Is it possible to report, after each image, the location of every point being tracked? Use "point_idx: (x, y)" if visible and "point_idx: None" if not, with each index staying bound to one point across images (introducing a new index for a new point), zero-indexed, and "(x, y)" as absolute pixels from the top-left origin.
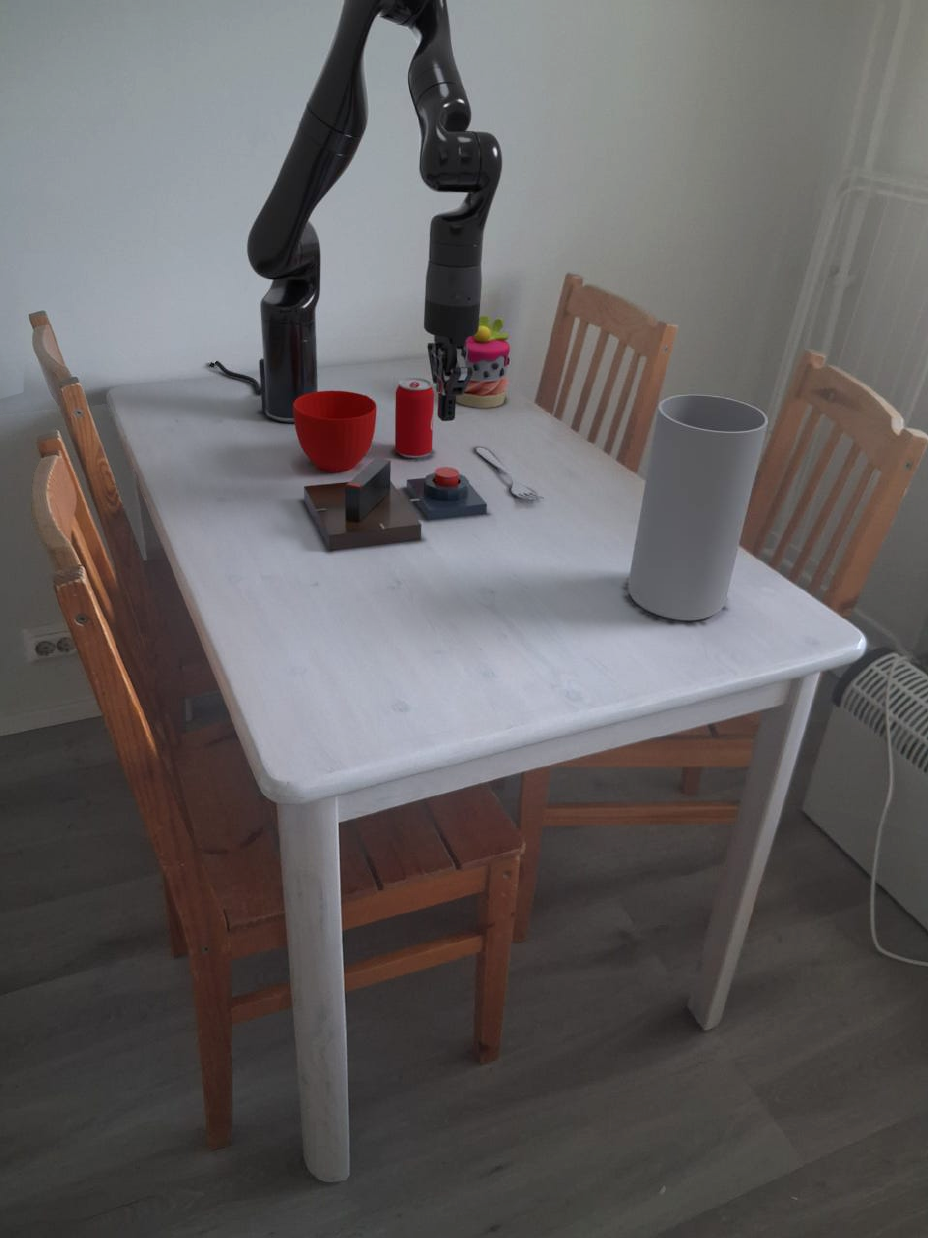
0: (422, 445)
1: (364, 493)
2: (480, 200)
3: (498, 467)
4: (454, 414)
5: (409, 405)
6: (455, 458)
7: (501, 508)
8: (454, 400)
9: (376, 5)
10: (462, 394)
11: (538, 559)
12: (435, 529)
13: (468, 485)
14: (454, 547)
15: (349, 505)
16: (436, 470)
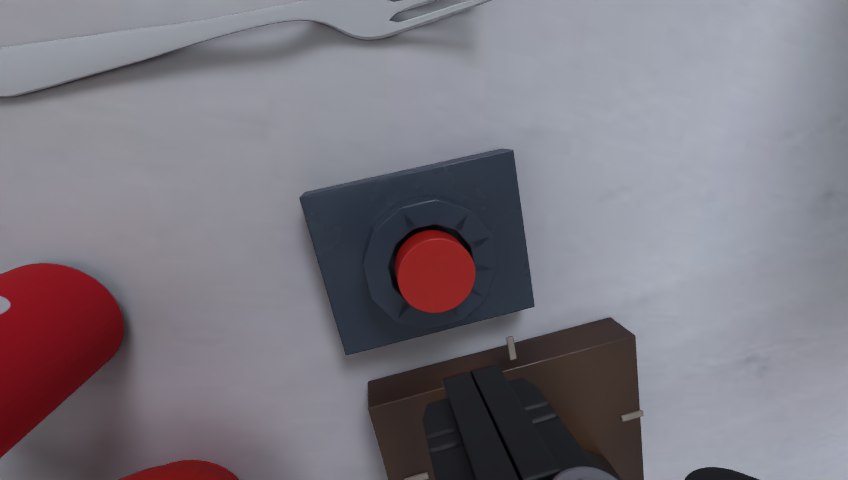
0: (92, 312)
1: None
2: None
3: (187, 46)
4: (504, 378)
5: None
6: (88, 184)
7: (469, 96)
8: (589, 460)
9: None
10: (740, 476)
11: (742, 59)
12: (565, 283)
13: (437, 197)
14: (650, 249)
15: None
16: (425, 308)
